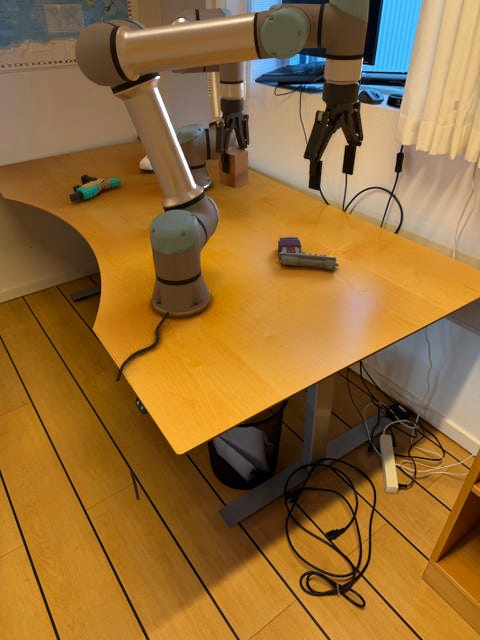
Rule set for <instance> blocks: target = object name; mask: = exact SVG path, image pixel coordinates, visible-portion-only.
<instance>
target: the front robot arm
mask: <svg viewBox="0 0 480 640" xmlns="http://www.w3.org/2000/svg"><path fill="white" fill-rule="evenodd" d="M369 12H370V0H328V2H325V3H321V4H320V3H319V4H317V3H315V4H314V3H290V2H284V3H279V4H278V3H277V4H272V5H271V6H269V8H268V10H262V11H257V12H247V13H242V14H233V16H227V17H220V18H213V19H206V20H199V21H193V22H186V23H179V24H172V25H170V24H166V25H159V26H152V27H146V26H145V25H144V24H143V23H141V22H139V21H138V20H136V19H131V18H125V17H117V18H115V19H110V20H106V21H100V22H93V23H91V24H89V25H87V26H85V28H83V29H82V30H81V31H80V32H79V34H78V35H77V39H76V41H75V46H74V54H75V55H74V56H75V60H76V63H77V66H78V67H79V69H80V72H81V73H82V74H83V75H84V76H85V78H87V79H88V80H89V81H91V82H92V83H93V84H95V85H98V86H101V87H109V88H110V90H111V92H112V95H113V96H114V97H116V98H118V99H119V100H121V101H122V102H123V104H124V106H125V109H126V110H127V113H128V116H129V117H130V120H131V122H132V124H133V126H134V129H135V132H136V133H137V137H138V136H139V138H140V140H139V141H140V143H141V145H142V148H143V150H144V152H145V156H146V155H147V157H148V159H149V161H150V164H151V166H152V168H153V170H152V171H153V173H154V175H155V177H156V180H157V183H158V186H159V187H160V189H161V192H162V194H163V199H162V202H161V206H162V209H163V211H164V212H163V213H162V212H161V213H159V214H158V215H156V216H155V217H154V218H153V219H152V221H151V222H150V225H149V241H150V247H151V253H152V260H153V261H152V262H153V268H154V274H155V275H154V276H155V281H154V284H153V290H152V294H151V305H152V308H153V310H154V311H155V312H156V313H157V314H159V315H160V316H163V317H162V319H160V322H159V323H158V324H157V326H156V327H155V331H154V333H155V340H154V342H153V343H151V344H150V345H149V346H147V347H143V348H141V349H138V350H136V351H135V352H133V353H132V354H130V355H129V356H128V357H127V358H126V359H125V360H124V361H123V362H122V364H121V365H120V366H119V369H118V371H117V375H116V378H115V382H116V383H117V382H120V380H121V377H122V374H123V371H124V369H125V367H126V365H127V364H128V363H130V361H131V360H132V359H134V358H135V357H136V356H137V355H140V354H142V353H144V352H147V351H149V350H152V349H153V348H155V347H156V346H157V345H158V343H159V341H160V335H159V331H160V329H161V328H162V325H163V324H164V323H165V321H166V320H167V318H171V319H183V318H185V319H186V318H190V317H194V316H196V315H199V314H201V313H202V312H204V311H205V310H207V308H208V307H209V306H210V303H211V292H210V290H209V288H208V286H207V284H206V281H205V278H204V277H203V275H202V262H201V261H202V259H201V253H202V251H203V249H204V247H205V246H206V245H207V243H208V242H209V240H210V238H211V237H212V236H214V234H215V232H216V230H217V227H218V224H219V220H220V212H219V209H218V206H217V203H215V201H214V200H213V198H212V197H209V196H208V195H207V194H206V191H204V189H203V188H202V187H201V186H198V185H196V184H195V182H194V179H193V177H192V174H191V172H190V169H189V167H188V164H187V162H186V159H185V157H184V154H183V151H182V149H181V146H180V144H179V141H178V139H177V136H176V134H175V131H176V130H175V128H174V125H173V124H172V121H171V119H170V117H169V114H168V110H167V108H166V105H165V103H164V100H163V98H162V96H161V93H160V91H159V86H158V85H159V83H160V80H161V75H160V73H162V72H170V71H171V70H178V69H186V68H194V67H202V66H210V65H218V64H227V63H235V62H243V63H244V62H251V61H259V60H270V59H277V60H287V59H292V58H293V57H295V56H297V55H298V54H300V52H301V51H302V50H303V49H325V63H324V72H323V73H324V75H323V78H324V80H325V81H324V82H323V84H322V95H321V99H322V101H323V102H324V103H325V104H326V105H325V109H324V110H319V109H317V110H316V111H315V116H314V122H313V124H312V128H311V131H310V135H309V138H308V140H307V144H306V147H305V150H304V152H303V159H305V160H308V161H309V165H308V166H309V168H308V189H310V190H314V191H317V192H319V191H321V185H322V173H323V162H324V161H323V160H322V157H323V155H324V153H325V151H326V149H327V147H328V145H329V143H330V141H331V139H332V138H333V135H334V134H336V132H337V130H340V129H341V131H342V133H343V135H344V138H345V142H346V143H347V144H345V145H344V151H343V160H342V167H341V174H345V175H349V176H353V175H354V171H355V163H356V155H357V148H358V147H359V148H361V147H362V144H363V141H364V130H363V124H362V123H363V122H362V115H361V104H362V103H361V101H358V100H359V93H360V86H361V85H360V82H359V81H360V80H361V78H362V70H363V63H364V62H363V61H364V53H365V44H366V39H367V38H366V37H367V30H368V23H369ZM129 474H130V476H131V480H132V481H131V482H132V485H133V489H134V492H135V493H134V494H135V498H136V501H140V499H141V498H140V493H139V489H138V485H137V481H136V476H135V473H134V469H129Z"/></svg>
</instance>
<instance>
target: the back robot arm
mask: <svg viewBox="0 0 480 640" xmlns="http://www.w3.org/2000/svg"><path fill="white" fill-rule="evenodd" d="M227 16H234V14H233V12H232V11H231V9H229V8H221V7H218V8H189V9H186V10H184V11H181V12H179V13H178V14H177V15H176V16H174V17H173V19H172V20H171V22H170V24H169V25H172V24H179V23H186V22H193V21H199V20H206V19H213V18H220V17H227ZM170 71H171V72H172V73H173V74H181V75H184V74H199V73H200V74H201V73H208V82H209V95H210V106H211V107H210V108H211V120H210V121H209V123H208V127H207V128H205V126H204V124H202V123H191V124H186V125H182V126H180V127H178V128H177V129H175V130H174V131H175V134H176V136H177V139H178V141H179V144H180V146H181V149H182V151H183V154H184V157H185V159H186V162H187V164H188V167H189V169H190V172H191V174H192V177H193V179H194V182H195V184H196V185H198V186H201V187H202V188H203V189H204V192H206V191H207V190H209V189H210V188H211V187H212V179H211V177H212V176H211V175H210V173H209V171H208V168H207V161H214V160H216V161H217V160H219V153H220V154H221V163H222V172H224V173H227V174H229V173H230V172H229V154H228V153H227V151H228V148H229V147H235V148H239V149H243V150H246V149H248V147H249V145H250V144H251V143H250V128H249V119H250V115H249V114H247V113H244V112H243V111H244V110H245V100H244V98H243V97H244V96H245V93H244V92H245V84H244V61H243V62H235V63H227V64H218V65H210V66H202V67H194V68H186V69H178V70H170ZM137 139H138V140H139V141H140V138H139V136H138V135H137ZM223 149H224V150H223Z"/></svg>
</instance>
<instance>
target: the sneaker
mask: <svg viewBox="0 0 480 640" xmlns="http://www.w3.org/2000/svg"><path fill="white" fill-rule="evenodd" d="M139 169H141V170H144V171H153V168H152V166H151V164H150V161H149V159H148V157H147V155H146V154H145V156H144V157H143V158H142V159H141V160H140V162H139Z"/></svg>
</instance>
